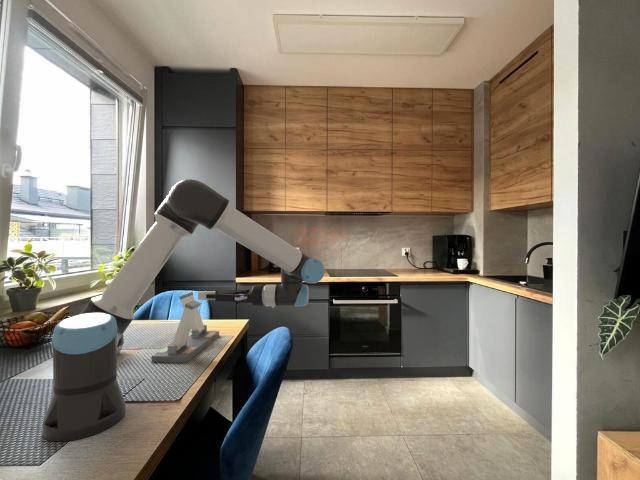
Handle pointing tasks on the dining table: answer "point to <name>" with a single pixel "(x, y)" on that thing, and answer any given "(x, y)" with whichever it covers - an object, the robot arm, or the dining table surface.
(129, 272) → the robot arm
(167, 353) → the switch base
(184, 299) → the far lever
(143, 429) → the dining table surface
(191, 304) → the near lever
